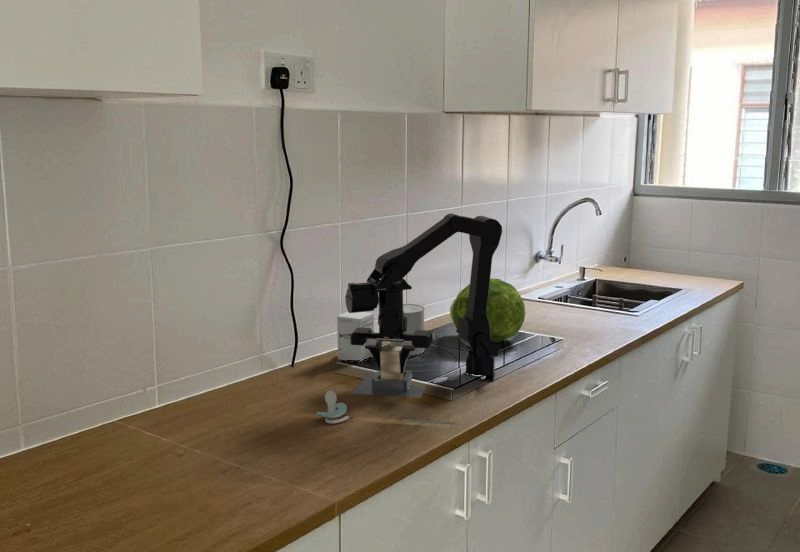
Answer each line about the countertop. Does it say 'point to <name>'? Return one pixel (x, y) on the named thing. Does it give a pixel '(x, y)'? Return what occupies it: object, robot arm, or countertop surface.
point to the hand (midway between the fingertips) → (392, 372)
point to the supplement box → (346, 327)
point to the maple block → (391, 363)
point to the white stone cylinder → (412, 324)
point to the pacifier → (332, 413)
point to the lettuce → (495, 309)
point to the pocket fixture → (389, 386)
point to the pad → (428, 421)
